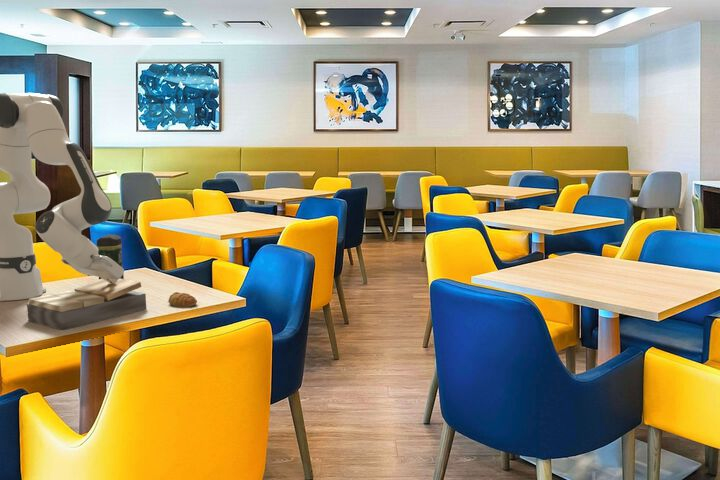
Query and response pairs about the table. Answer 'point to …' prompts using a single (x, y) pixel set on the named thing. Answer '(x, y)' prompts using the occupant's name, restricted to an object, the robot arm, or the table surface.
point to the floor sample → (81, 308)
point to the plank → (109, 288)
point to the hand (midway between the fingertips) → (113, 281)
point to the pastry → (182, 300)
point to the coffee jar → (111, 248)
